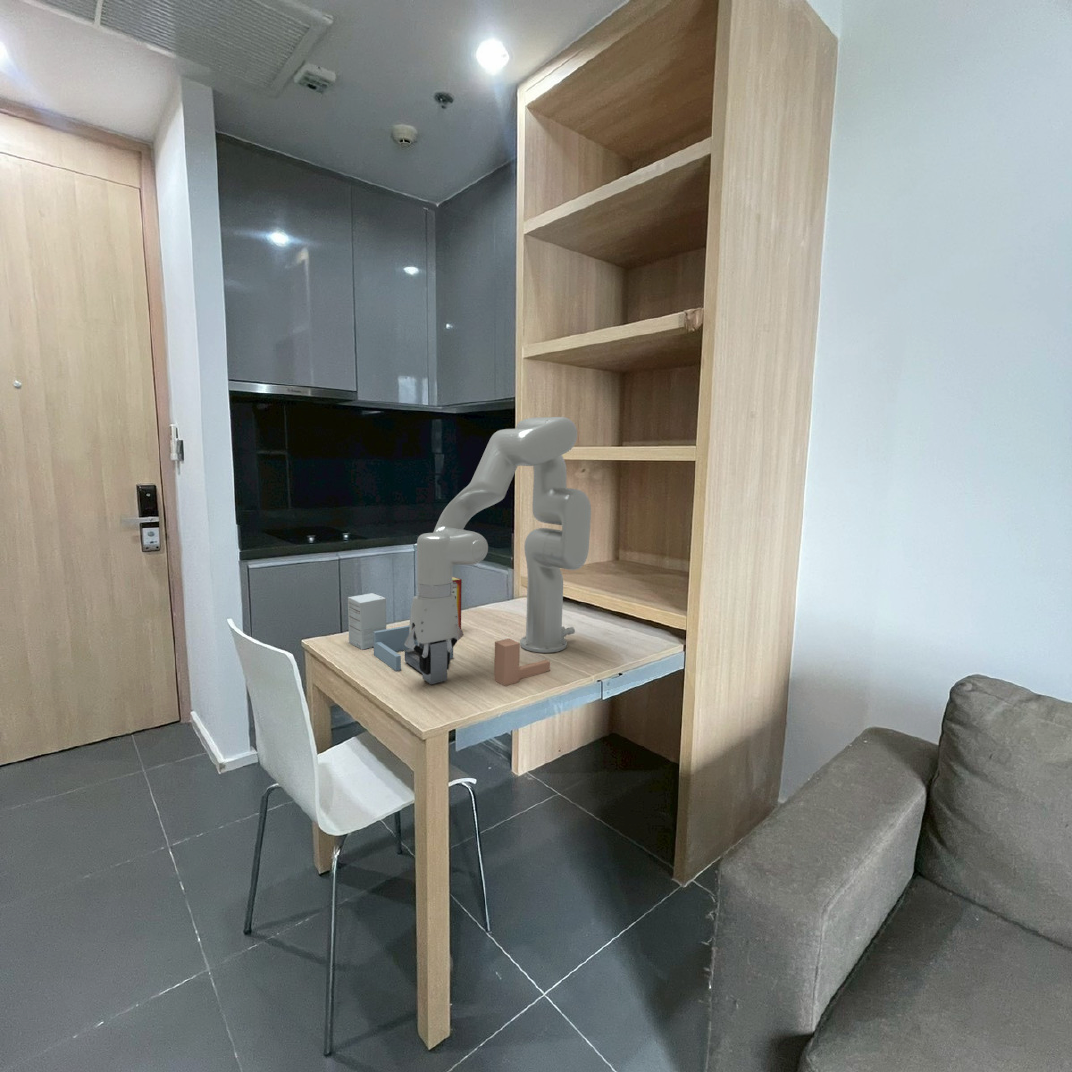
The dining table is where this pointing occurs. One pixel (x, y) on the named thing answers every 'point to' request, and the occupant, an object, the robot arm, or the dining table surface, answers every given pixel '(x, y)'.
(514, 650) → the salmon l-shaped piece
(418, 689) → the dining table surface
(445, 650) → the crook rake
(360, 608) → the supplement box
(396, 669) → the cubby
